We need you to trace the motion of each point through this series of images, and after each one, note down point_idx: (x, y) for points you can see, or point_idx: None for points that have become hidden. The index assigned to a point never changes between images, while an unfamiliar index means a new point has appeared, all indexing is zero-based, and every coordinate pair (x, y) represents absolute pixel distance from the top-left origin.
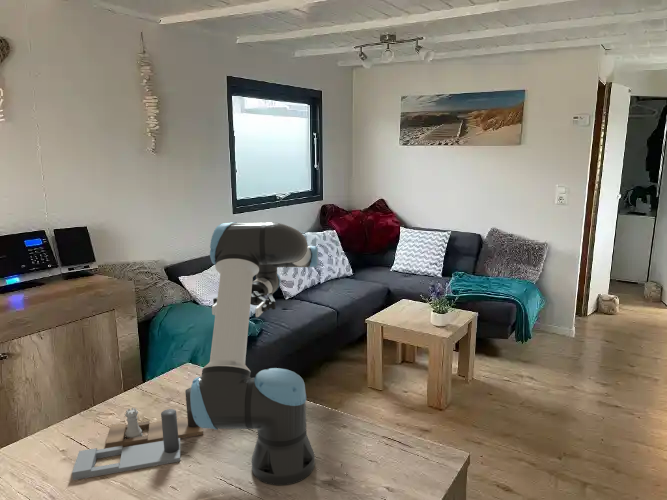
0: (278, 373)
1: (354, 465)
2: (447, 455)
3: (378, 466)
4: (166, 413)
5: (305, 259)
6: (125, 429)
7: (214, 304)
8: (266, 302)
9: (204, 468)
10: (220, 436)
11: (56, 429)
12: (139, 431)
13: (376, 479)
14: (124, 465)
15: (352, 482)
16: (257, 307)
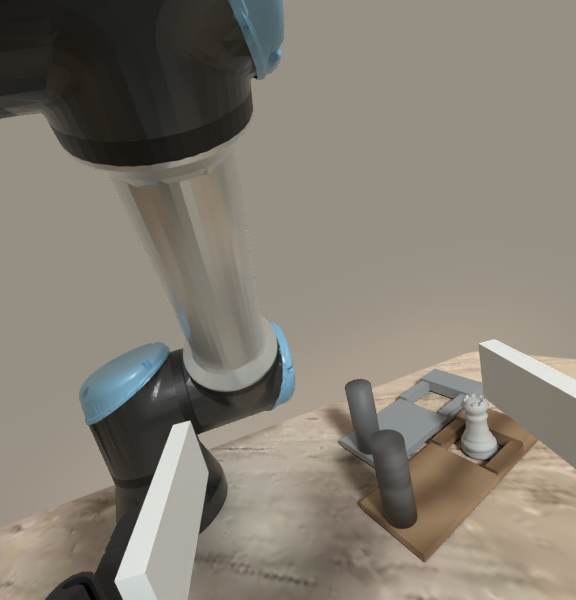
0: (123, 367)
1: (49, 556)
2: None
3: (3, 572)
4: (359, 383)
5: None
6: (504, 439)
7: (523, 355)
8: (94, 597)
9: (296, 452)
10: (324, 522)
11: None
12: (465, 440)
13: (26, 539)
14: (398, 402)
15: (69, 518)
16: (177, 433)
